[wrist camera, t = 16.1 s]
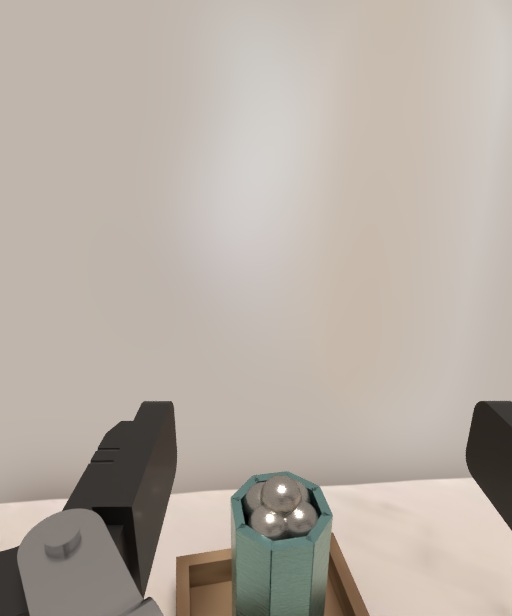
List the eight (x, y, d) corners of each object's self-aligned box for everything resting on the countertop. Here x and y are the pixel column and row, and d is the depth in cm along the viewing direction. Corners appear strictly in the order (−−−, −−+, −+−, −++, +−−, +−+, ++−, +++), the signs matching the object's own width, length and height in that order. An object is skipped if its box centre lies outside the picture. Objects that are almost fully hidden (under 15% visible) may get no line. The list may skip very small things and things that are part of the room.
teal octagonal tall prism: (302, 605, 33) (313, 444, 28) (328, 694, 27) (346, 512, 22) (229, 618, 32) (227, 454, 27) (240, 713, 26) (239, 527, 21)
